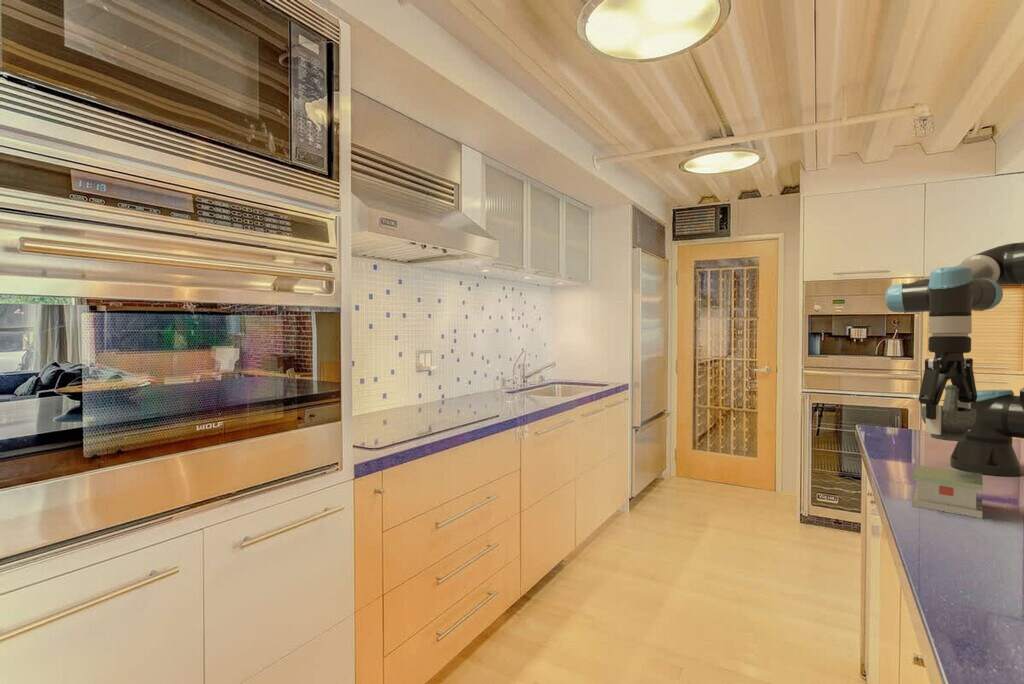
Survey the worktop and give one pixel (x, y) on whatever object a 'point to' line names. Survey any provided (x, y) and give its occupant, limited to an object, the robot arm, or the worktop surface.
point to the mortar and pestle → (953, 417)
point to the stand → (948, 490)
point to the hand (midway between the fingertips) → (947, 431)
